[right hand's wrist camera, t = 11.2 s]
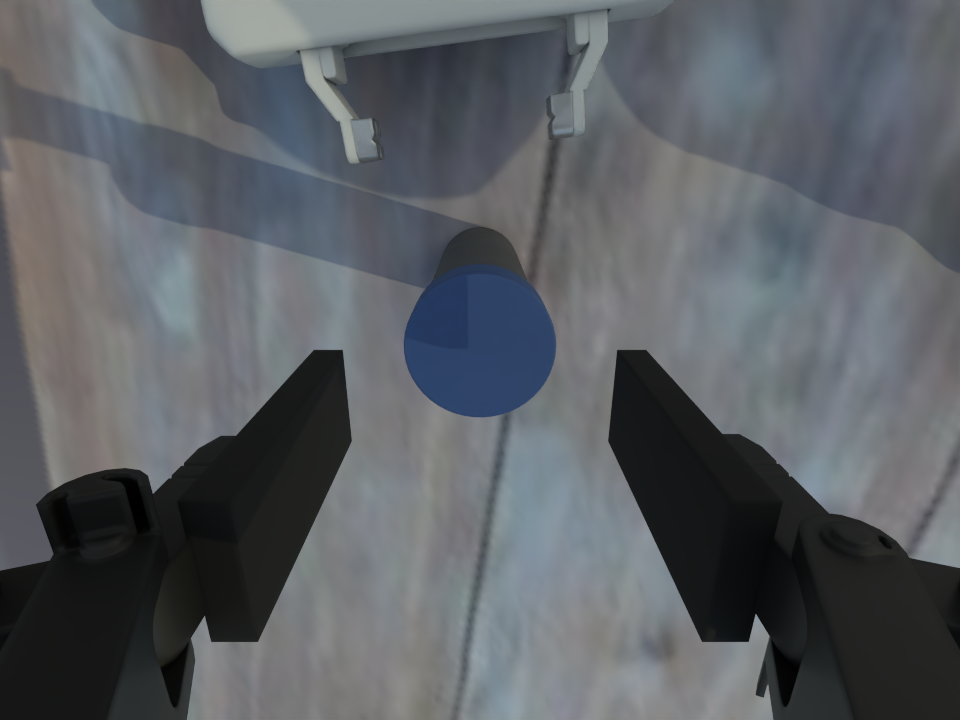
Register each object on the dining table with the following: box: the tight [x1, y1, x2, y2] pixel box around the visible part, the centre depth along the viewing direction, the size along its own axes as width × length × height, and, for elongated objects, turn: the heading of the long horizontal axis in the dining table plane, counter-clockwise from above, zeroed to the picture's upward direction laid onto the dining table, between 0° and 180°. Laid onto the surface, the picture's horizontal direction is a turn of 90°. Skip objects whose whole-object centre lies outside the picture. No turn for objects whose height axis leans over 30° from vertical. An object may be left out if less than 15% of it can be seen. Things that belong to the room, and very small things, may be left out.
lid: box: [404, 264, 556, 417], centre depth 18 cm, size 5×5×2 cm
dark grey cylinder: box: [432, 228, 528, 282], centre depth 25 cm, size 5×5×15 cm
